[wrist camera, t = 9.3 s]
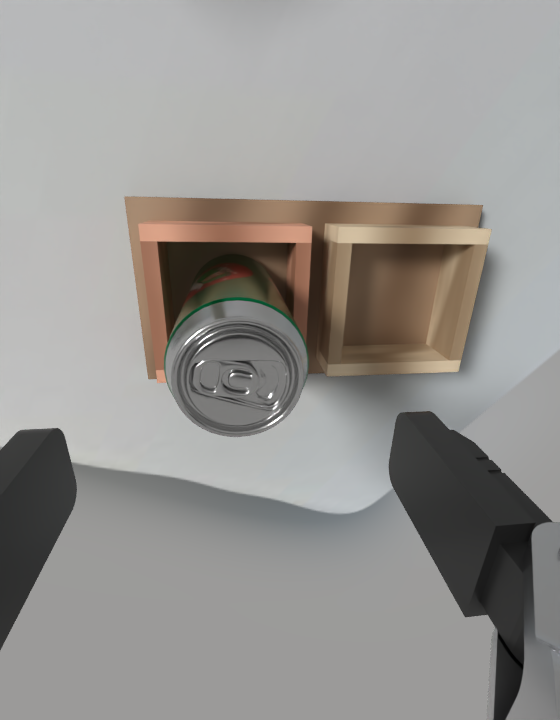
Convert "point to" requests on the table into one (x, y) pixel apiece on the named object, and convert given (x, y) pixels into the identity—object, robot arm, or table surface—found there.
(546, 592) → the robot arm
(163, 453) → the table surface
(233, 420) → the soda can
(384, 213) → the can rack
